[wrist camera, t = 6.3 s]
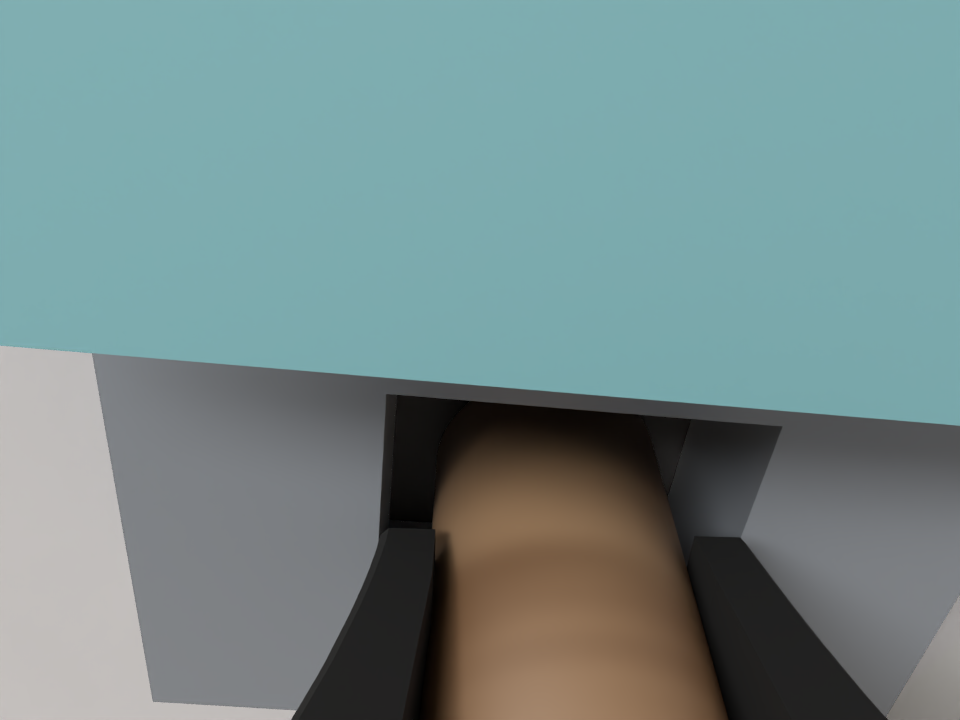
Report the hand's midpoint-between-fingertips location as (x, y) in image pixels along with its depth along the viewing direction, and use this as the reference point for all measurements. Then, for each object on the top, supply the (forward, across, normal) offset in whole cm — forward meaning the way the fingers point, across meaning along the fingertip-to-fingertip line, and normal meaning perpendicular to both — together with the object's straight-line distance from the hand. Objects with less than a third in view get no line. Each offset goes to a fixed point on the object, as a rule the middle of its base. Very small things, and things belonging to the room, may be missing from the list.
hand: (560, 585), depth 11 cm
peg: (+3, 0, 0) cm, 3 cm away
